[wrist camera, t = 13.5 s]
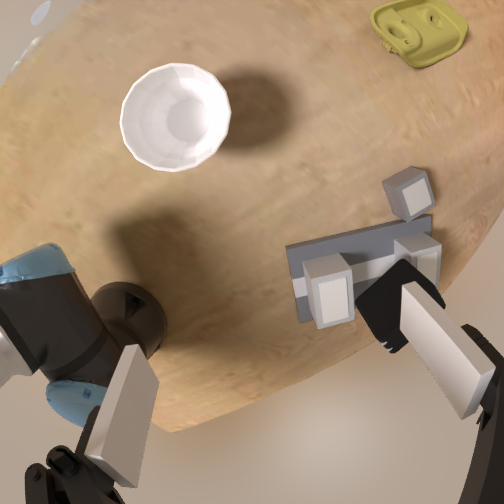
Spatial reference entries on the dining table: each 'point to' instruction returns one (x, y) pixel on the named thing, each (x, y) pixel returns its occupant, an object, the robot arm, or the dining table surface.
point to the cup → (175, 117)
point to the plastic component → (419, 30)
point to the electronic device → (391, 303)
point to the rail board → (356, 266)
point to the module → (409, 193)
